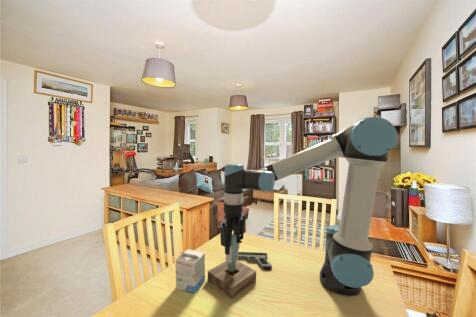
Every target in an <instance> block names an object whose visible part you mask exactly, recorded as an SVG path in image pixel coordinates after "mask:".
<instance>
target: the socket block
mask: <svg viewBox="0 0 476 317" xmlns="http://www.w3.org/2000/svg"><path fill="white" fill-rule="evenodd" d="M207 281H208V282H209V283H210V284H212V285H213V286H214V287H215V288H217V289H218V290H220V292H222V293H224V294H225V295H226V296H228V297H229V298H230V299H233V298H235V297H236V296H238V295H239V294H240V293H242V292H243V291H244V290H245V289H247V288H248V287H249V286H251V285H252V284H254V283H255V282H256V281H257V270H255V269H253V268H251V267H249V266H248V265H246V264H244V263H242V262H241V261H238V259H236V269H235V271H229V270H228V262H227V261H226V260H225V261H223V262H221V263H220V264H218V265H215V267H213V268H211V269H209V270H207Z"/></svg>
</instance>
